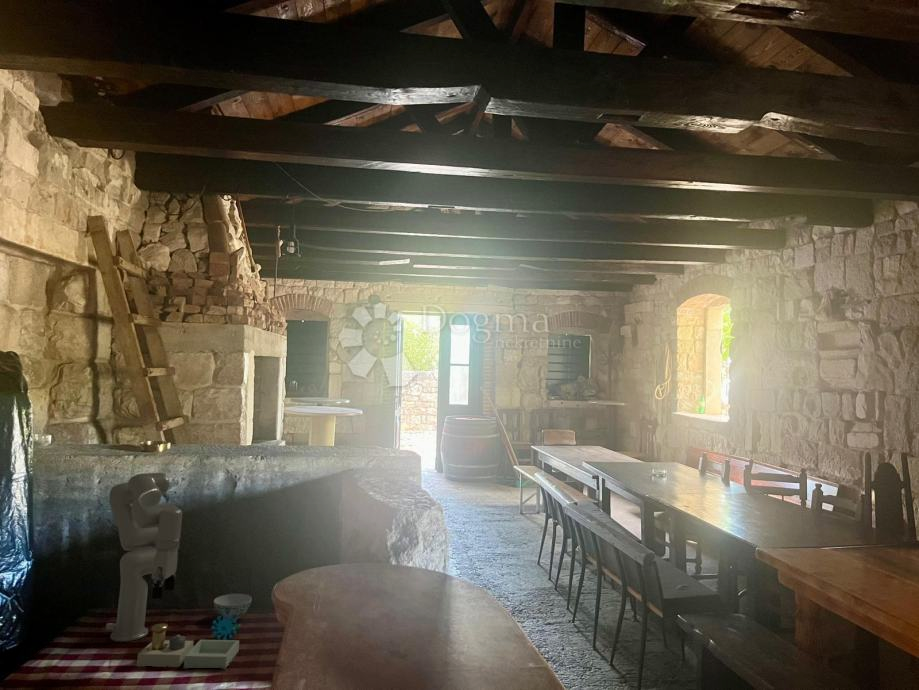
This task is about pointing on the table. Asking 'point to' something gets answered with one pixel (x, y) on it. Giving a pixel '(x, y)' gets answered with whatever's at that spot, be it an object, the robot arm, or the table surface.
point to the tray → (211, 654)
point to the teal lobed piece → (225, 627)
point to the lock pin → (158, 636)
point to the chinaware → (232, 605)
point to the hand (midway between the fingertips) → (163, 593)
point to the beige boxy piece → (166, 653)
